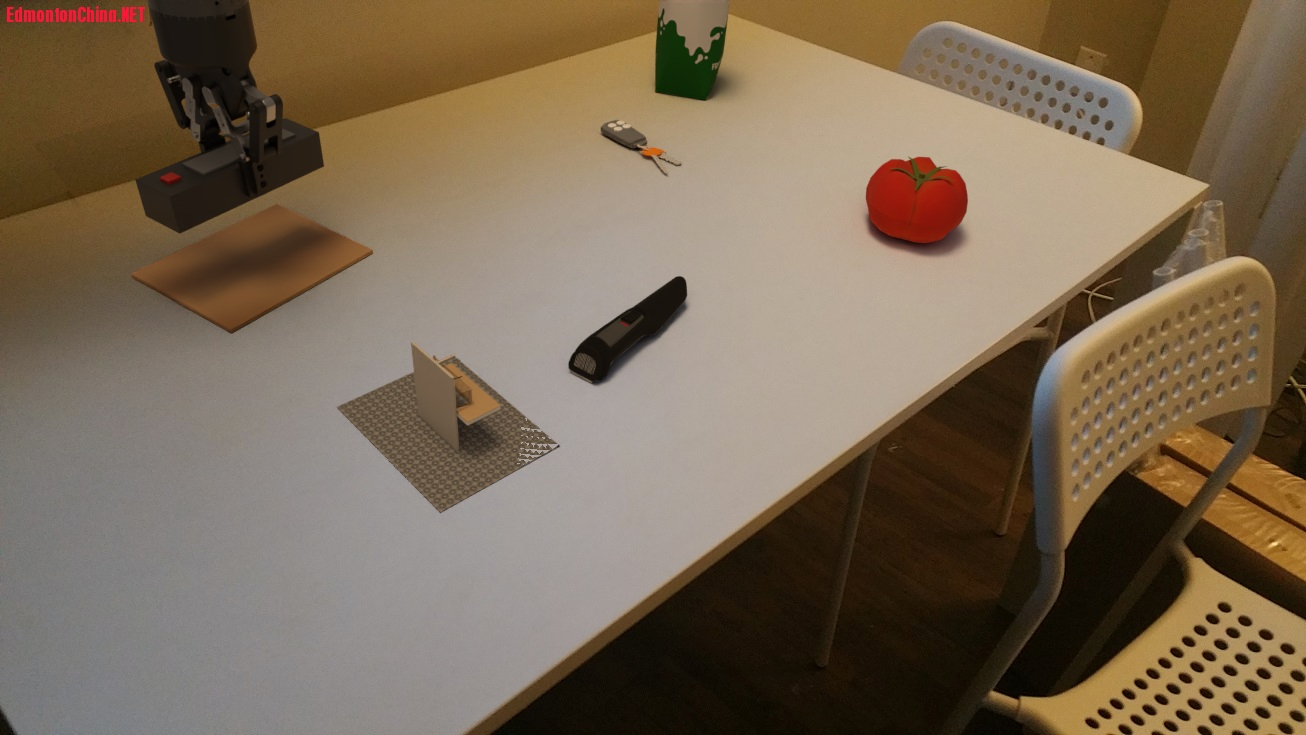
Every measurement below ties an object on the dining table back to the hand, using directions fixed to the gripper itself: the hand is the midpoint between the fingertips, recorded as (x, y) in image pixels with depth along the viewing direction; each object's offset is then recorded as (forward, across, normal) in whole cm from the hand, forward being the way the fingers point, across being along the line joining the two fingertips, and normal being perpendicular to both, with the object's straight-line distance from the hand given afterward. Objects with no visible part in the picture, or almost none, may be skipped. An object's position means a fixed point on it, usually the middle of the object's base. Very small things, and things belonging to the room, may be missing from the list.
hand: (239, 184), depth 90 cm
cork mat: (+9, 0, 0) cm, 9 cm away
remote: (+1, 0, 0) cm, 1 cm away
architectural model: (+9, +30, -6) cm, 32 cm away
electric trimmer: (+9, +35, +13) cm, 38 cm away
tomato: (+9, +48, +49) cm, 69 cm away
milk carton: (+9, +9, +65) cm, 66 cm away
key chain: (+9, +15, +45) cm, 48 cm away
